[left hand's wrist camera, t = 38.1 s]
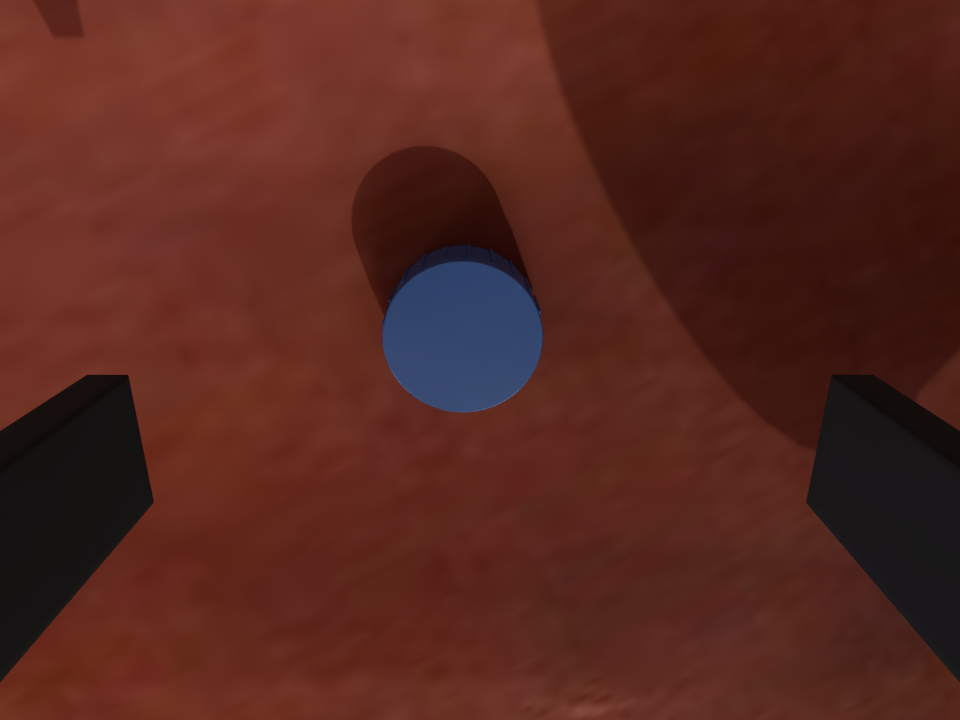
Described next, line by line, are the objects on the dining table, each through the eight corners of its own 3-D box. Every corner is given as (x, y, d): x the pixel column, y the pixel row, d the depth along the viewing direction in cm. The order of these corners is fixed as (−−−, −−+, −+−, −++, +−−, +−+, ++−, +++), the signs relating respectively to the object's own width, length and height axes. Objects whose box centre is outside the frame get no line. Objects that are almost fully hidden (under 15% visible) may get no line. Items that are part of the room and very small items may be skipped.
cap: (566, 327, 19) (577, 352, 17) (452, 411, 20) (451, 443, 18) (475, 211, 18) (476, 223, 16) (358, 306, 19) (345, 328, 17)
